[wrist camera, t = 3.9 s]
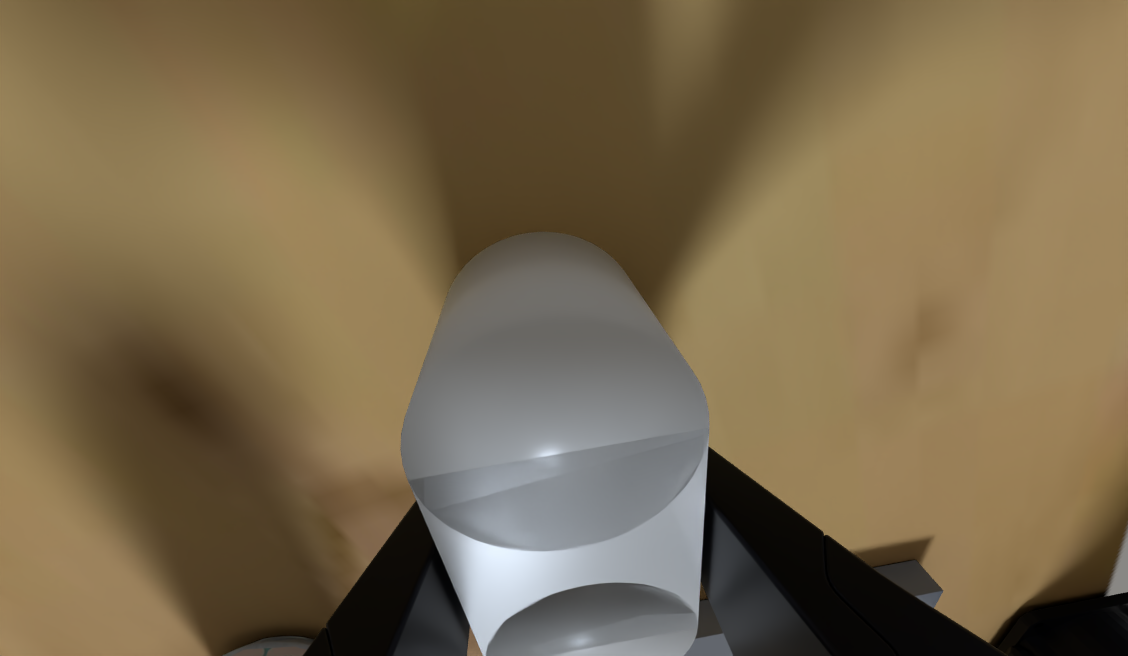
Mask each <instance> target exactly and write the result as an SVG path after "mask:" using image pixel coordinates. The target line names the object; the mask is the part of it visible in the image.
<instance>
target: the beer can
mask: <svg viewBox="0 0 1128 656" xmlns="http://www.w3.org/2000/svg"><path fill="white" fill-rule="evenodd" d="M313 641H314V639H310V638H305V637H298V636H279V637H270V638H265V639H261V640H259V641H256V642H253V643H251V644H249V645H246V646H243V647H241V648H238V649H236V650H233V651H231V652H229V653H227V654H224V655H222V656H302V655H303V654H304V653H305V652H306V650H307V649H308V647H309V646H310V645H311V643H312V642H313Z"/></svg>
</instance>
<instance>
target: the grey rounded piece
mask: <svg viewBox="0 0 1128 656" xmlns="http://www.w3.org/2000/svg"><path fill="white" fill-rule="evenodd" d="M708 441H709V411H708V406H707V401H706V397H705V394H704V392H703V389H702V387H701V384H700V382H699V381H698V379H697V377H696V376H695V374H694V373H693V371H692V369H691V368H690V366H689V365H688V363H687V362H686V360H685V359H684V358H683V356H682V355H681V353H680V352H679V350H678V349H677V347H676V346H675V344H674V343H673V341H672V340H671V339H670V337H669V336H668V334H667V333H666V331H665V330H664V328H663V327H662V325H661V324H660V322H659V321H658V319H657V318H656V317H655V315H654V314H653V312H652V311H651V309H650V308H649V306H648V305H647V303H646V302H645V300H644V299H643V298H642V296H641V295H640V293H639V292H638V290H637V289H636V287H635V286H634V284H633V283H632V281H631V280H630V278H629V277H628V276H627V274H626V273H625V271H624V270H623V269H622V267H621V266H620V265H619V264H618V263H617V261H616V260H615V259H613V258H612V257H611V256H610V255H609V254H608V253H607V252H605V251H604V250H602V249H601V248H599V247H598V246H596V245H594V244H592V243H590V242H588V241H586V240H584V239H581V238H578V237H575V236H572V235H568V234H562V233H557V232H532V233H524V234H520V235H515V236H512V237H509V238H506V239H503V240H501V241H498V242H496V243H494V244H493V245H491V246H489V247H487V248H485V249H484V250H483V251H481V252H480V253H478V254H477V255H475V256H474V257H473V258H472V259H471V260H470V261H469V262H468V263H467V264H466V265H465V266H464V267H463V269H462V270H461V271H460V272H459V274H458V275H457V276H456V278H455V280H454V281H453V283H452V285H451V287H450V289H449V292H448V294H447V297H446V299H445V302H444V305H443V308H442V311H441V314H440V317H439V320H438V323H437V325H436V328H435V331H434V334H433V337H432V340H431V343H430V346H429V349H428V352H427V355H426V357H425V360H424V363H423V366H422V369H421V372H420V375H419V378H418V381H417V384H416V387H415V389H414V392H413V395H412V398H411V401H410V404H409V407H408V410H407V413H406V416H405V419H404V424H403V428H402V433H401V456H402V463H403V467H404V470H405V473H406V476H407V479H408V482H409V484H410V486H411V489H412V491H413V493H414V496H415V498H416V500H417V503H418V505H419V507H420V510H421V512H422V514H423V517H424V519H425V521H426V524H427V526H428V528H429V531H430V533H431V535H432V538H433V540H434V542H435V545H436V547H437V549H438V552H439V554H440V556H441V559H442V561H443V563H444V566H445V568H446V570H447V573H448V575H449V577H450V580H451V582H452V584H453V587H454V589H455V591H456V594H457V596H458V598H459V601H460V603H461V605H462V608H463V610H464V612H465V614H466V617H467V619H468V621H469V624H470V626H471V628H472V631H473V633H474V635H475V638H476V640H477V642H478V645H479V647H480V649H481V652H482V654H483V656H684V655H685V654H686V652H687V651H688V650H689V649H690V647H691V645H692V644H693V642H694V640H695V637H696V635H697V629H698V615H699V597H700V580H701V563H702V545H703V528H704V511H705V493H706V476H707V459H708Z"/></svg>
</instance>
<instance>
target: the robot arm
mask: <svg viewBox="0 0 1128 656" xmlns="http://www.w3.org/2000/svg"><path fill="white" fill-rule="evenodd" d="M700 581H701V583H702V586H703V588H704V590H705V592H706V595H707V597H708V599H709V602H710V604H711V606H712V608H713V611H714V613H715V615H716V618H717V620H718V622H719V624H720V627H721V629H722V631H723V634H724V636H725V638H726V640H727V643H728V645H729V647H730V650H731V652H732V654H733V656H1128V592H1127V593H1121V594H1116V595H1111V596H1106V597H1101V598H1096V599H1091V600H1086V601H1081V602H1076V603H1071V604H1066V605H1061V606H1055V607H1050V608H1045V609H1040V610H1035V611H1031V612H1028V613H1026V614H1024V615H1023V616H1021V617H1020V618H1019V620H1018V621H1017V622H1016V624H1015V625H1014V626H1013V628H1012V629H1011V630H1010V632H1009V633H1008V635H1007V636H1006V637H1005V639H1004V640H1003V641H1002V643H1001V644H1000V645H999V647H998V648H995V647H994V646H992V645H991V644H989V643H988V642H986V641H984V640H983V639H981V638H980V637H978V636H977V635H975V634H973V633H972V632H970V631H969V630H967V629H966V628H964V627H962V626H961V625H959V624H958V623H956V622H955V621H953V620H951V619H950V618H948V617H947V616H945V615H944V614H942V613H940V612H939V611H937V610H936V609H934V608H933V607H931V606H929V605H928V604H926V603H925V602H923V601H922V600H920V599H919V598H917V597H916V596H914V595H913V594H911V593H909V592H908V591H906V590H905V589H903V588H902V587H900V586H899V585H897V584H896V583H894V582H893V581H891V580H890V579H888V578H887V577H885V576H884V575H882V574H881V573H879V572H878V571H877V570H875V569H874V568H872V567H871V566H870V565H868V564H867V563H865V562H864V561H863V560H861V559H860V558H858V557H857V556H856V555H854V554H853V553H851V552H850V551H849V550H847V549H846V548H845V547H843V546H842V545H841V544H839V543H838V542H836V541H835V540H834V539H832V538H831V537H830V536H828V535H825V536H824V533H823V531H821V530H820V529H819V528H817V527H816V526H815V525H813V524H812V523H811V522H809V521H808V520H807V519H805V518H804V517H803V516H801V515H800V514H799V513H797V512H796V511H795V510H793V509H792V508H791V507H789V506H788V505H786V504H785V503H784V502H782V501H781V500H780V499H778V498H777V497H776V496H774V495H773V494H772V493H770V492H769V491H768V490H766V489H765V488H764V487H762V486H761V485H760V484H758V483H757V482H756V481H754V480H753V479H752V478H750V477H749V476H748V475H746V474H745V473H743V472H742V471H741V470H739V469H738V468H737V467H735V466H734V465H733V464H731V463H730V462H729V461H727V460H726V459H725V458H723V457H722V456H721V455H719V454H718V453H717V452H715V451H714V450H713V449H711V448H710V447H709V446H708V459H707V476H706V493H705V511H704V528H703V545H702V563H701V580H700ZM326 627H327V628H323V629H322V630H321V631H320V632H319V634H318V635H317V636H316V638H315V639H314V641H313V642H312V643H311V645H310V646H309V647H308V649H307V650H306V652H305V653H304V654H303V655H302V656H467V647H468V638H469V629H470V624H469V621H468V619H467V617H466V614H465V612H464V610H463V608H462V605H461V603H460V601H459V598H458V596H457V594H456V591H455V589H454V587H453V584H452V582H451V580H450V577H449V575H448V573H447V570H446V568H445V566H444V563H443V561H442V559H441V556H440V554H439V552H438V549H437V547H436V545H435V542H434V540H433V538H432V535H431V533H430V531H429V528H428V526H427V524H426V521H425V519H424V517H423V514H422V512H421V510H420V507H419V505H418V503H417V500H416V501H415V503H414V504H413V505H412V507H411V508H410V509H409V511H408V512H407V514H406V515H405V516H404V518H403V519H402V520H401V522H400V523H399V525H398V526H397V527H396V529H395V530H394V531H393V533H392V534H391V535H390V537H389V538H388V540H387V541H386V542H385V544H384V545H383V546H382V548H381V549H380V551H379V552H378V553H377V555H376V556H375V557H374V559H373V560H372V561H371V563H370V564H369V566H368V567H367V568H366V570H365V571H364V572H363V574H362V575H361V577H360V578H359V579H358V581H357V582H356V583H355V585H354V586H353V587H352V589H351V590H350V592H349V593H348V594H347V596H346V597H345V598H344V600H343V601H342V603H341V604H340V605H339V607H338V608H337V609H336V611H335V612H334V614H333V615H332V616H331V618H330V619H329V620H328V622H327V623H326Z"/></svg>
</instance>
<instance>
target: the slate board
mask: <svg viewBox="0 0 1128 656" xmlns="http://www.w3.org/2000/svg"><path fill="white" fill-rule="evenodd" d="M874 569H875V570H877V571H878V572H879V573H881V574H882V575H884V576H885V577H887V578H888V579H890V580H891V581H893V582H894V583H896V584H897V585H899V586H900V587H902V588H903V589H905V590H906V591H908V592H909V593H911V594H913V595H914V596H916V597H917V598H919V599H920V600H922V601H923V602H925V603H926V604H928V605H929V606H931V607H933V608H934V607H935V605H936V603H937V602H938V600H939V598H940V596H941V594H942V592H943V590H942V589H941V587H940V586H939V585H938V584H937V583H936V582H935V581H934V580H933V579H932V577H931V576H930V575H929V574H928V573H927V572H926V571H925V570H924V568H923V567H922V566H921V565H920V564H919V563H918V562H917V561H916V560H913V561H908V562H902V563H897V564H892V565H886V566H881V567H876V568H874ZM684 656H733V654H732V652H731V650H730V647H729V645H728V643H727V640H726V638H725V636H724V634H723V631H722V629H721V627H720V624H719V622H718V620H717V618H716V615H715V613H714V611H713V608H712V606H711V604H710V602H709V599H708V600H702V601H699V615H698V629H697V635H696V637H695V640H694V642H693V644H692V645H691V647H690V649H689V650H688V651H687V652H686V654H685V655H684Z"/></svg>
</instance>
